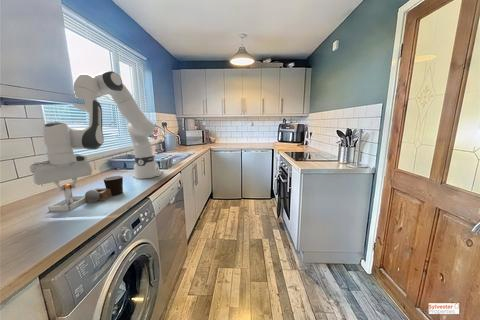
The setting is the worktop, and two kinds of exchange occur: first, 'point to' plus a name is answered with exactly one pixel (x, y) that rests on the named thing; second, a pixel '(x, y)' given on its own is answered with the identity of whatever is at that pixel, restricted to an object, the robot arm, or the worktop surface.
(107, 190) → the tensioner block
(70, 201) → the lock pin
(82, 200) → the parts tray
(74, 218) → the worktop surface
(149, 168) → the robot arm
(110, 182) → the coffee mug
